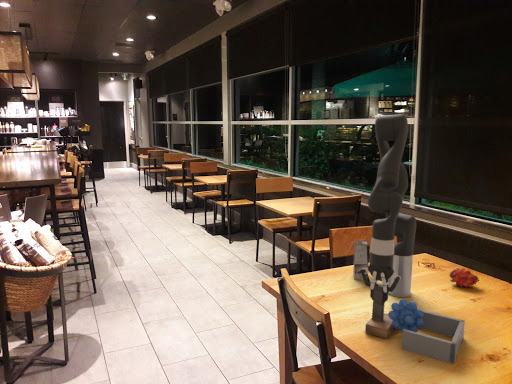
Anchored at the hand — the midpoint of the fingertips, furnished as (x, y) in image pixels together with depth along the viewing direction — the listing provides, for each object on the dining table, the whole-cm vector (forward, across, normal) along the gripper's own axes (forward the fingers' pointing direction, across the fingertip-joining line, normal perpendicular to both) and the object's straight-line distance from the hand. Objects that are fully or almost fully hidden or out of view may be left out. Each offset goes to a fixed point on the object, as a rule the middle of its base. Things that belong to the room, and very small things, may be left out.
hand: (378, 300), depth 137 cm
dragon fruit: (+10, -18, -60) cm, 64 cm away
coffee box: (+10, +23, -45) cm, 52 cm away
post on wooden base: (+10, -1, 0) cm, 10 cm away
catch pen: (+10, -18, 0) cm, 20 cm away
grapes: (+10, -9, -1) cm, 14 cm away
